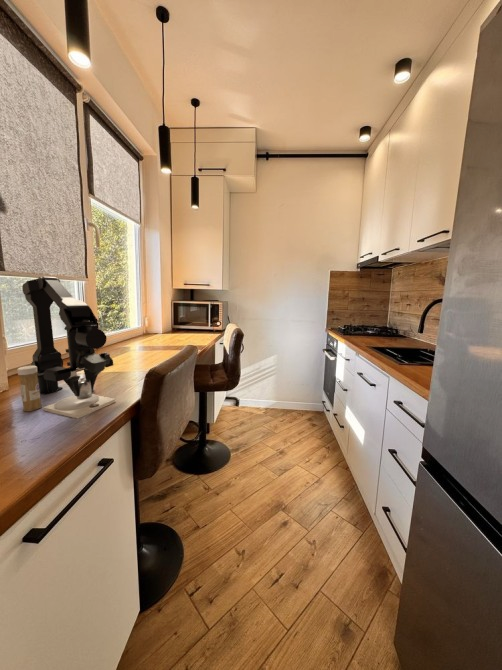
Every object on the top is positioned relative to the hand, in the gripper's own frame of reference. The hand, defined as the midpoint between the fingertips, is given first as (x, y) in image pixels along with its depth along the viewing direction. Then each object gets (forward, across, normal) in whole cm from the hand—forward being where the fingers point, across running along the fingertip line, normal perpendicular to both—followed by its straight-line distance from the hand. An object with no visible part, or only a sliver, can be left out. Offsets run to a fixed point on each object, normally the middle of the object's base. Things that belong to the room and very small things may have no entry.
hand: (84, 393), depth 82 cm
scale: (+4, 0, +2) cm, 5 cm away
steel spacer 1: (+4, +10, +12) cm, 16 cm away
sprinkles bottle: (+4, -7, +14) cm, 16 cm away
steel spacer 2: (+1, 0, 0) cm, 1 cm away
